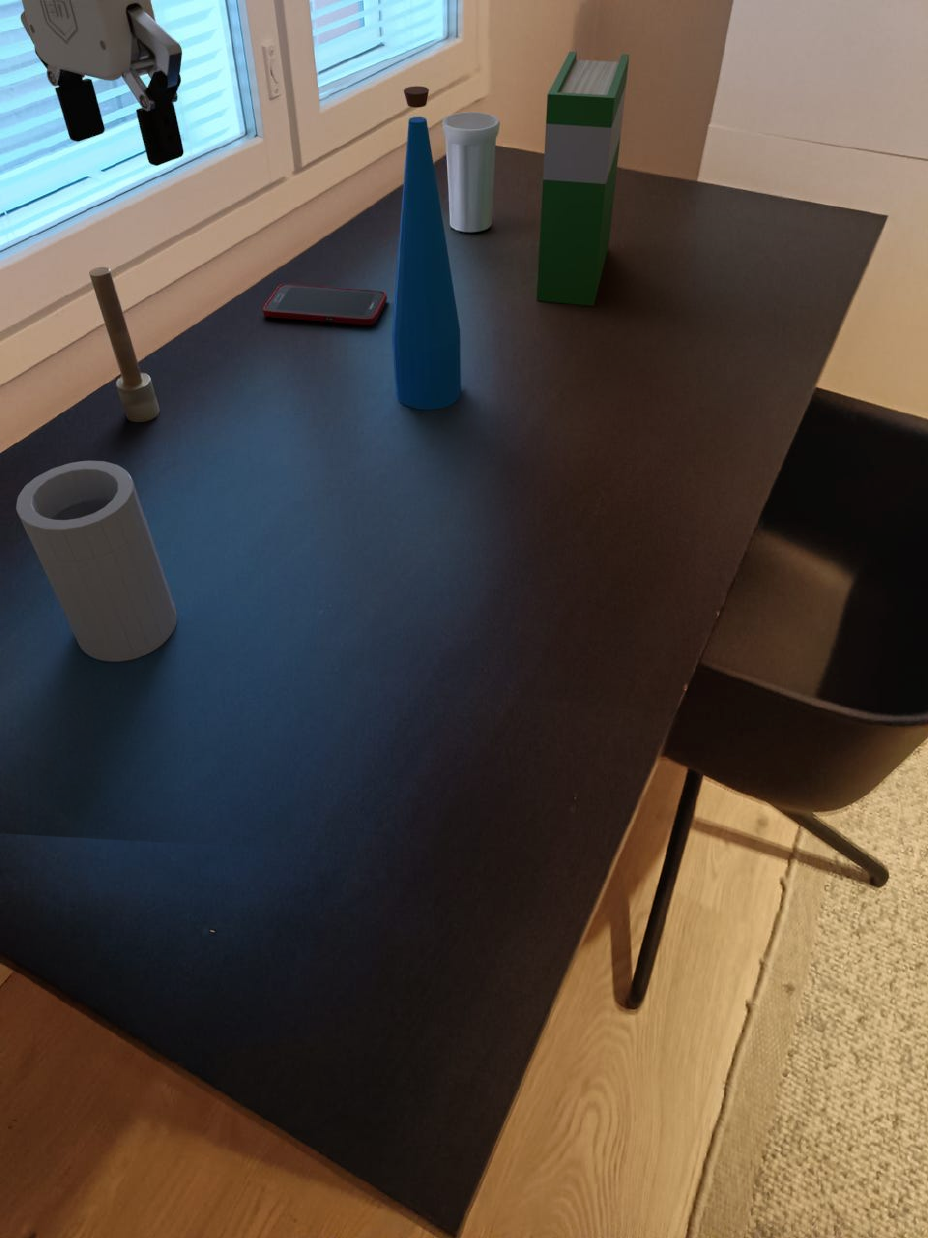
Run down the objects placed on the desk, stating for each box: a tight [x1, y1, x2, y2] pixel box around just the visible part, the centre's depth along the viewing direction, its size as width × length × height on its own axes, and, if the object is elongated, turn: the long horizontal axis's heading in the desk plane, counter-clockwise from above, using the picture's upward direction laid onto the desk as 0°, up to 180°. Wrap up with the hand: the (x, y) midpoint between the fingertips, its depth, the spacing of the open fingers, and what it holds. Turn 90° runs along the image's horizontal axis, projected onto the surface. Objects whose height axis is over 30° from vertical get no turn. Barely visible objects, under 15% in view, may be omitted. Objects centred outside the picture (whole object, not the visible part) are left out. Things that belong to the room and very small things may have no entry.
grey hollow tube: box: [15, 460, 178, 663], centre depth 71 cm, size 8×8×14 cm
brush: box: [88, 266, 161, 423], centre depth 93 cm, size 4×4×16 cm
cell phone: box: [262, 283, 388, 326], centre depth 115 cm, size 8×15×1 cm, turn 80°
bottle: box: [391, 85, 462, 411], centre depth 90 cm, size 7×7×30 cm
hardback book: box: [536, 51, 630, 307], centre depth 113 cm, size 18×7×24 cm, turn 167°
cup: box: [440, 111, 501, 233], centre depth 128 cm, size 8×8×14 cm
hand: (126, 148), depth 73 cm, fingers open, 9 cm apart
